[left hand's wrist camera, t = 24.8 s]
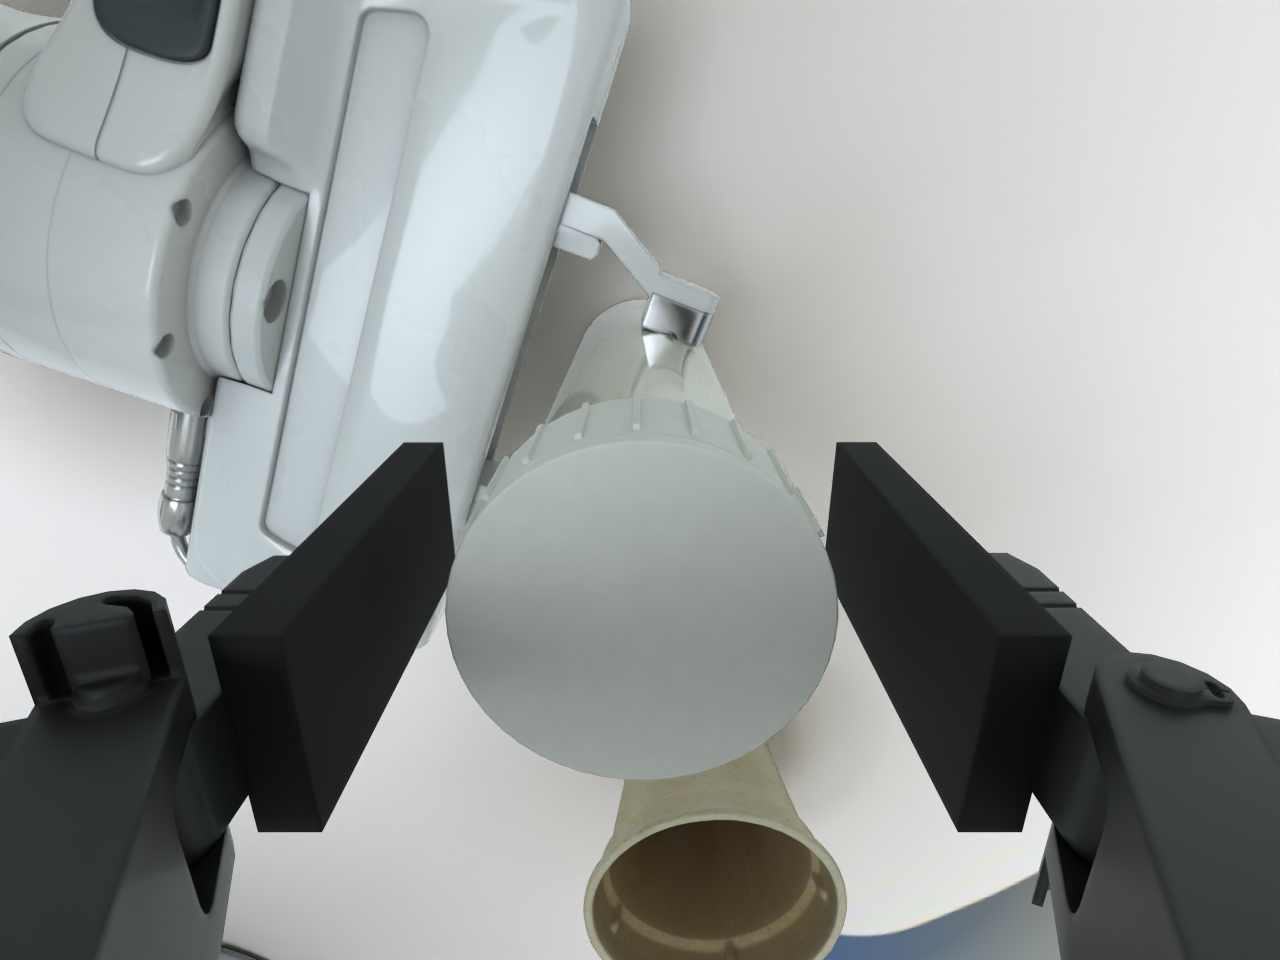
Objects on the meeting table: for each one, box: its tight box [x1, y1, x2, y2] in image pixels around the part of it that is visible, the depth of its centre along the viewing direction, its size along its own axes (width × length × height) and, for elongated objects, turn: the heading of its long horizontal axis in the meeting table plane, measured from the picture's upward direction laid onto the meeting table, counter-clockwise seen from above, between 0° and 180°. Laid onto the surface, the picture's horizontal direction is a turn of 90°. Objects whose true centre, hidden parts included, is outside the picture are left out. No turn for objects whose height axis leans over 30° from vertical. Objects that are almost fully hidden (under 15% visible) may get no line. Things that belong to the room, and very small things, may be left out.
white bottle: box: [544, 299, 737, 426], centre depth 19 cm, size 5×5×17 cm
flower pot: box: [584, 742, 847, 960], centre depth 29 cm, size 9×9×9 cm
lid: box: [445, 394, 838, 780], centre depth 11 cm, size 6×6×2 cm
